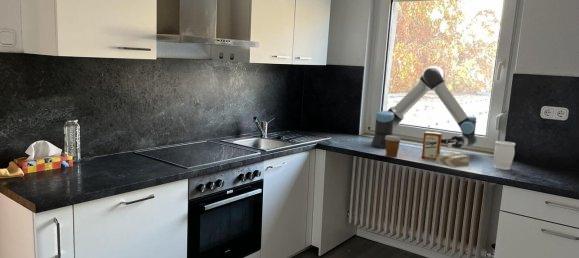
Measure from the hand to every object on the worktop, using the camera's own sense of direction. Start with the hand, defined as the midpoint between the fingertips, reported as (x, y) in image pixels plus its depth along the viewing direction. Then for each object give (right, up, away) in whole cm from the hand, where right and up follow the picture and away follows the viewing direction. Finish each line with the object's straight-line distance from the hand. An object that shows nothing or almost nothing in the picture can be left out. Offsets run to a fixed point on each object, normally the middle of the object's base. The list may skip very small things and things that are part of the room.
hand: (438, 143), depth 273 cm
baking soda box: (-5, -9, -1) cm, 11 cm away
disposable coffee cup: (-28, -8, 0) cm, 29 cm away
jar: (+30, -14, -19) cm, 38 cm away
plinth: (+4, -11, -13) cm, 18 cm away
